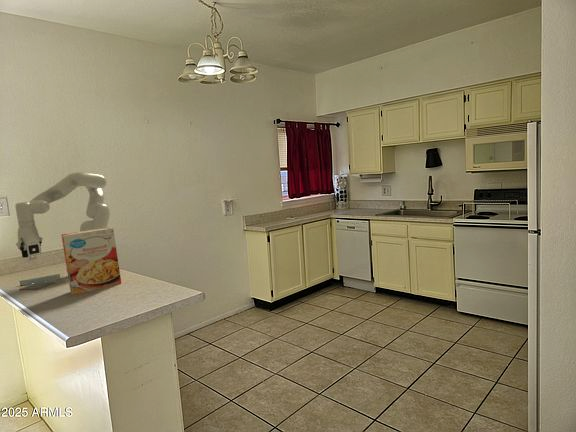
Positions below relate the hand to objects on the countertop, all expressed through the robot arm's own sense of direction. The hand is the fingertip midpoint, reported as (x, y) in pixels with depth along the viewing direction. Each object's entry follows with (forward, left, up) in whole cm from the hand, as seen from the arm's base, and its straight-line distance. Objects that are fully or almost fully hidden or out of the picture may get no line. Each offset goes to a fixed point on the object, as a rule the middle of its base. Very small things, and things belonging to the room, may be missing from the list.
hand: (32, 255), depth 214 cm
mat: (0, 0, -18) cm, 18 cm away
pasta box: (-42, +8, -18) cm, 46 cm away
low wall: (+5, -9, -18) cm, 20 cm away
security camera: (0, 0, -3) cm, 3 cm away
